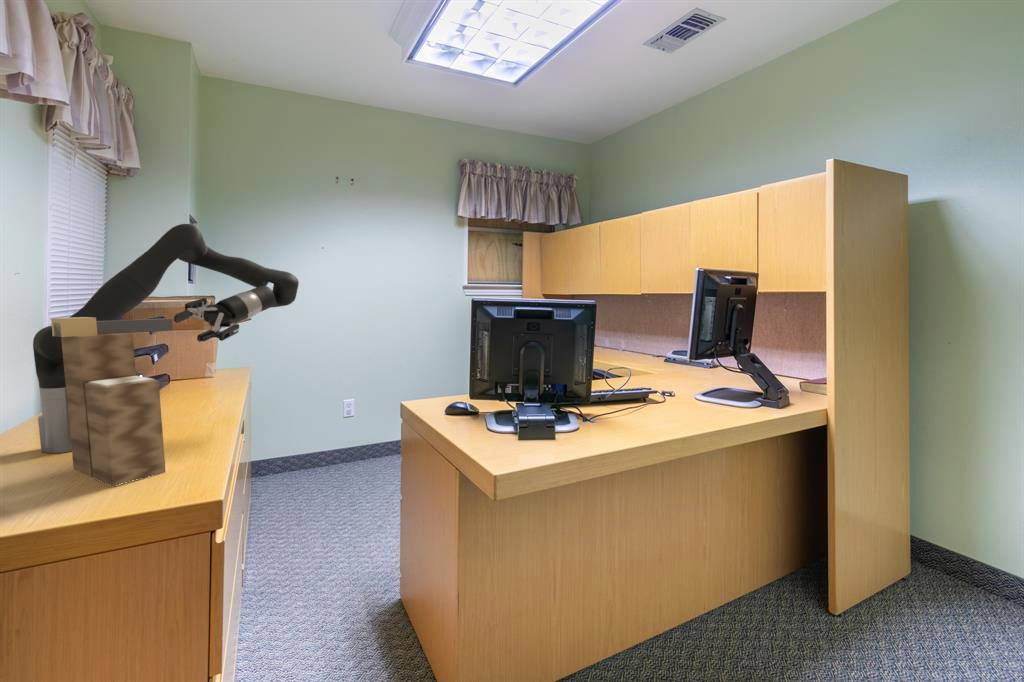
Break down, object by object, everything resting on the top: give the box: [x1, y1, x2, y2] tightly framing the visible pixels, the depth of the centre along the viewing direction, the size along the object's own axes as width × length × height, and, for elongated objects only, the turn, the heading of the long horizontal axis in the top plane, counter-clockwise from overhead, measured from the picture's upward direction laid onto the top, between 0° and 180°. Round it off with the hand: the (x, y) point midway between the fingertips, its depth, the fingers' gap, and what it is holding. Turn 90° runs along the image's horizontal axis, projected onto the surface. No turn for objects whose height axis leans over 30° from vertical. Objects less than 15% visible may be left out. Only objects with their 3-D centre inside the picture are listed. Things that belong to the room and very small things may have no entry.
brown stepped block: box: [61, 333, 166, 487], centre depth 111 cm, size 10×21×32 cm, turn 60°
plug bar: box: [50, 317, 174, 337], centre depth 115 cm, size 22×6×4 cm, turn 150°
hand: (186, 329), depth 127 cm, fingers open, 8 cm apart
